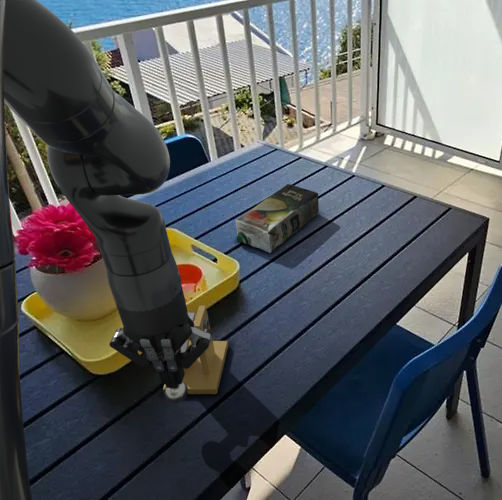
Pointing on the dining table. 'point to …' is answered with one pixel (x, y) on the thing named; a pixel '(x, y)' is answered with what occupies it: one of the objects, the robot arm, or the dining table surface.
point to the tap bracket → (206, 361)
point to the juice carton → (277, 217)
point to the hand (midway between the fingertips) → (174, 382)
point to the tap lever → (181, 392)
